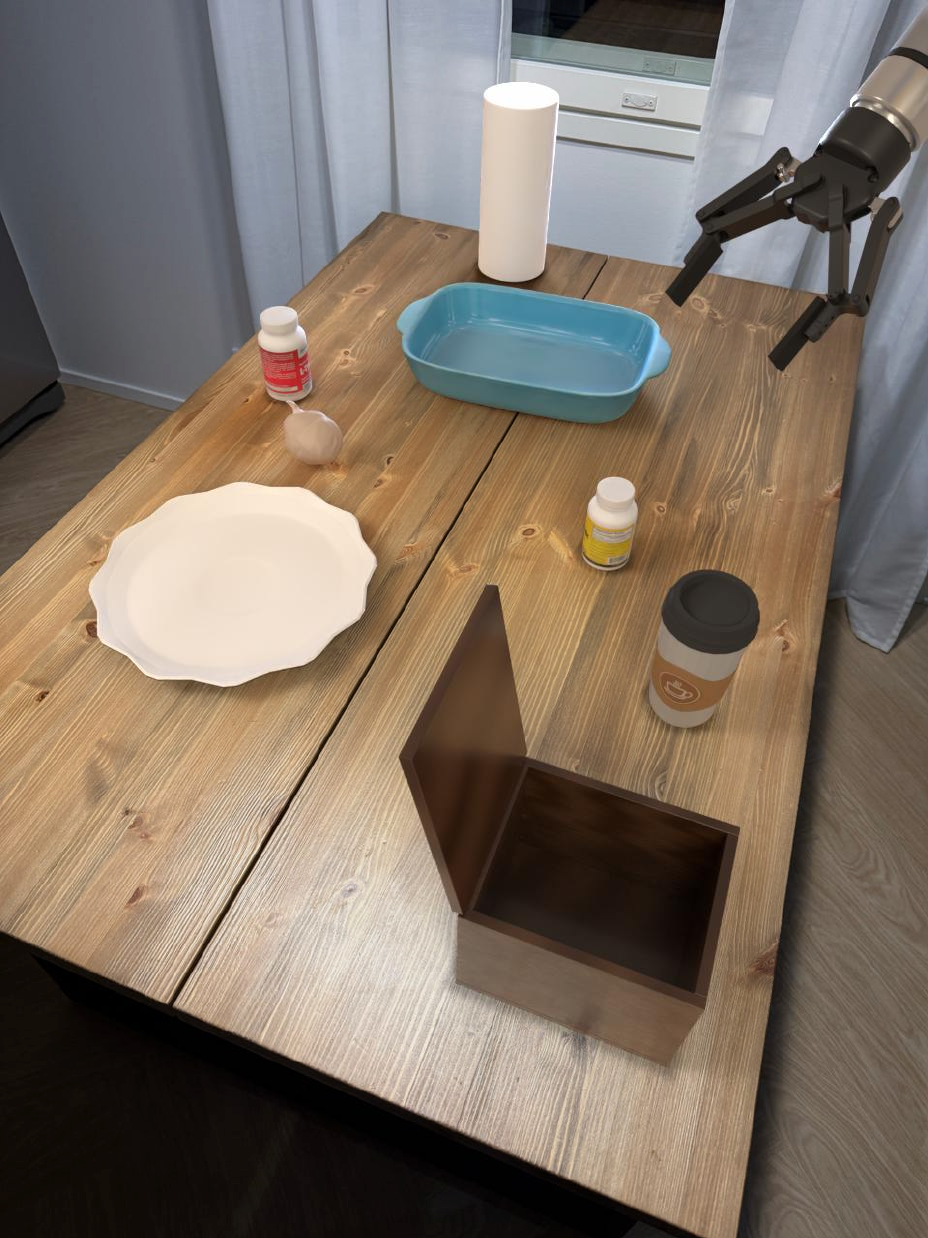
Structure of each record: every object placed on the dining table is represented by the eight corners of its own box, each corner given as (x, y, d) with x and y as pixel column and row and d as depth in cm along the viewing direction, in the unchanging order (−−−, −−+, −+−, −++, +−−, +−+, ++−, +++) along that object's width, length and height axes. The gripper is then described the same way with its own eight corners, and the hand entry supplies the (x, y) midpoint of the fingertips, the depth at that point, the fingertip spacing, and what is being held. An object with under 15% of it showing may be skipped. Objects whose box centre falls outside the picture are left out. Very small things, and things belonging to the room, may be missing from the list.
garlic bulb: (327, 437, 114) (321, 383, 108) (352, 463, 110) (347, 409, 104) (281, 454, 111) (271, 401, 105) (304, 482, 108) (296, 428, 102)
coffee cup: (622, 711, 86) (648, 608, 75) (661, 656, 91) (691, 551, 79) (701, 753, 83) (741, 652, 72) (737, 694, 88) (780, 591, 76)
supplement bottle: (590, 532, 103) (601, 466, 95) (635, 547, 101) (650, 481, 94) (573, 562, 99) (583, 495, 92) (619, 578, 98) (633, 511, 91)
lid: (498, 584, 55) (486, 582, 55) (411, 759, 47) (397, 756, 47) (527, 752, 67) (517, 750, 68) (463, 915, 59) (451, 911, 59)
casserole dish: (374, 397, 119) (370, 350, 114) (429, 315, 134) (428, 269, 128) (646, 453, 112) (656, 406, 107) (673, 360, 127) (684, 314, 121)
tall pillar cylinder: (549, 254, 147) (564, 85, 128) (537, 285, 140) (552, 112, 121) (486, 245, 148) (492, 78, 129) (471, 276, 141) (475, 104, 122)
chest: (702, 901, 74) (740, 827, 64) (666, 1067, 65) (704, 1010, 56) (512, 834, 77) (522, 754, 68) (455, 983, 69) (457, 916, 59)
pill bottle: (312, 402, 119) (301, 327, 110) (265, 404, 118) (251, 328, 110) (313, 375, 123) (303, 301, 114) (268, 377, 122) (255, 302, 114)
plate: (39, 605, 94) (31, 590, 92) (243, 465, 110) (240, 450, 108) (232, 749, 83) (227, 735, 81) (429, 571, 98) (429, 555, 96)
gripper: (1007, 205, 76) (833, 409, 82) (786, 111, 90) (649, 292, 95) (999, 154, 70) (812, 378, 76) (763, 61, 84) (619, 258, 89)
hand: (721, 331), depth 86 cm, fingers open, 13 cm apart
